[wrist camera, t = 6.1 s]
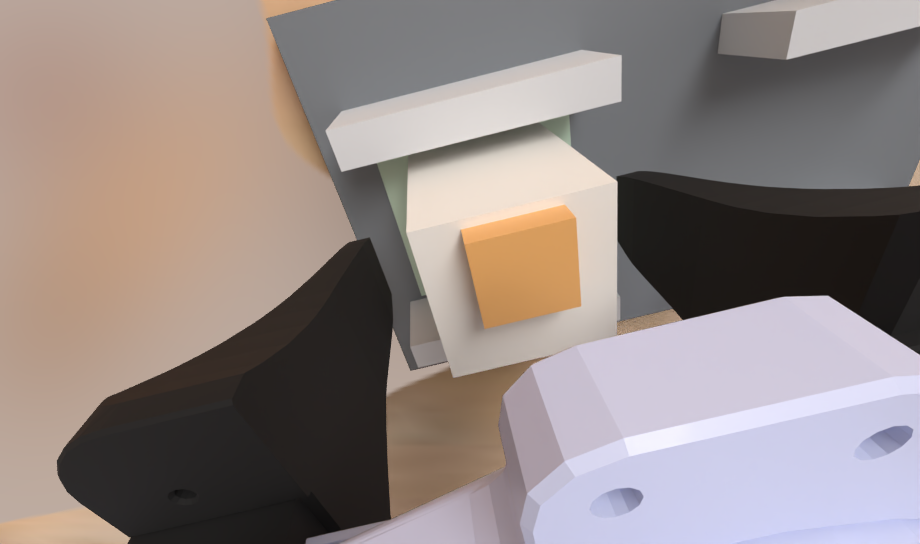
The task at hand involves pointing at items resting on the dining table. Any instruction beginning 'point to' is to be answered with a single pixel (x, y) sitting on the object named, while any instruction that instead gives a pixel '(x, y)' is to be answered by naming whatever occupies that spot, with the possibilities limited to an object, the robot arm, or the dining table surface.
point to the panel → (602, 101)
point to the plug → (513, 246)
